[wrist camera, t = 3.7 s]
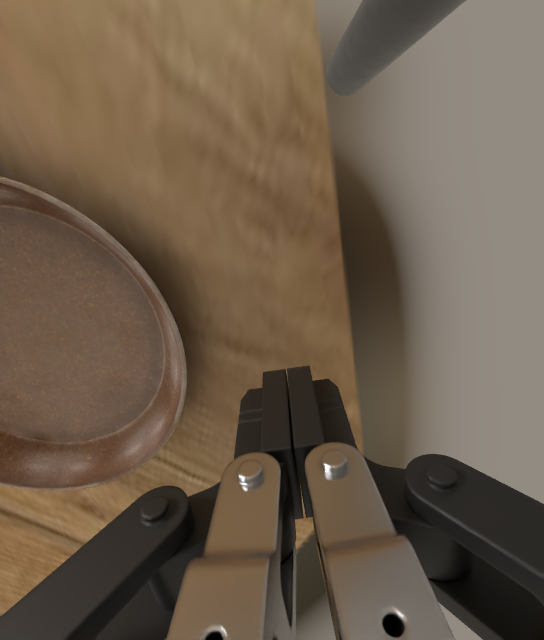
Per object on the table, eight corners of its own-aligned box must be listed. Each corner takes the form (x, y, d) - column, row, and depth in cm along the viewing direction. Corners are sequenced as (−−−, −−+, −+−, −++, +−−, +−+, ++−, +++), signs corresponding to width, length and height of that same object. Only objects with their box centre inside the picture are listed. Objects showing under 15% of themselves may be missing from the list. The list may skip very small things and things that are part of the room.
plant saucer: (92, 497, 25) (69, 538, 23) (-178, 343, 21) (-248, 372, 18) (261, 330, 20) (260, 357, 17) (-45, 74, 15) (-115, 54, 13)
